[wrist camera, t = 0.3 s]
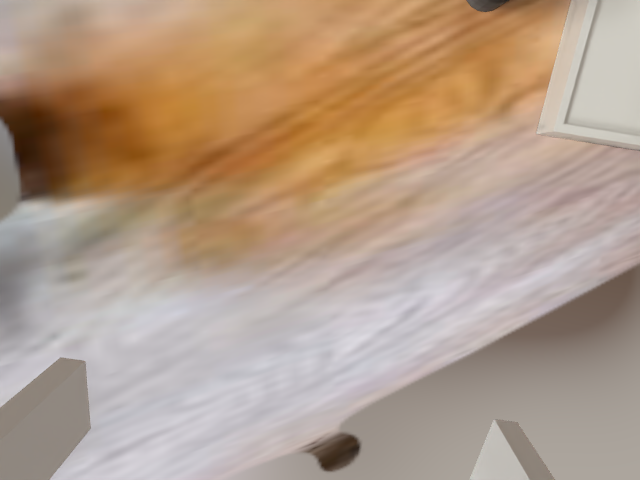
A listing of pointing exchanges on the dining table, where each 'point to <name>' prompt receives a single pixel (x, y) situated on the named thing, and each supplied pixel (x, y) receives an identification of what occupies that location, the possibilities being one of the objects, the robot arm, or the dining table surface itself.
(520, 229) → the dining table surface
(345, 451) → the dining table surface
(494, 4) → the beverage cup
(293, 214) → the dining table surface
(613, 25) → the tray
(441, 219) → the dining table surface
